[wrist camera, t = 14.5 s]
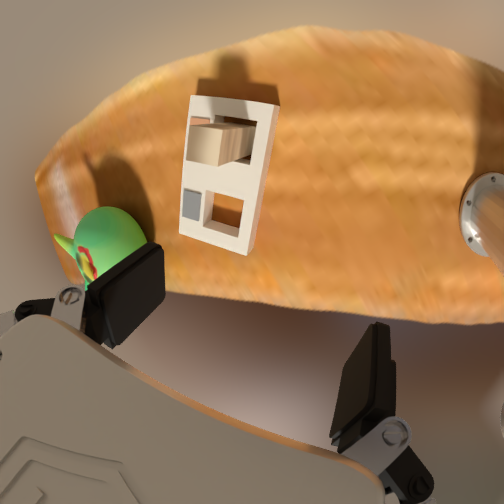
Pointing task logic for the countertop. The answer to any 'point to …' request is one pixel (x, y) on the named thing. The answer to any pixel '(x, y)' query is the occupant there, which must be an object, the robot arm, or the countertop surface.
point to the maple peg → (219, 142)
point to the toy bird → (102, 241)
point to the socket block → (227, 175)
